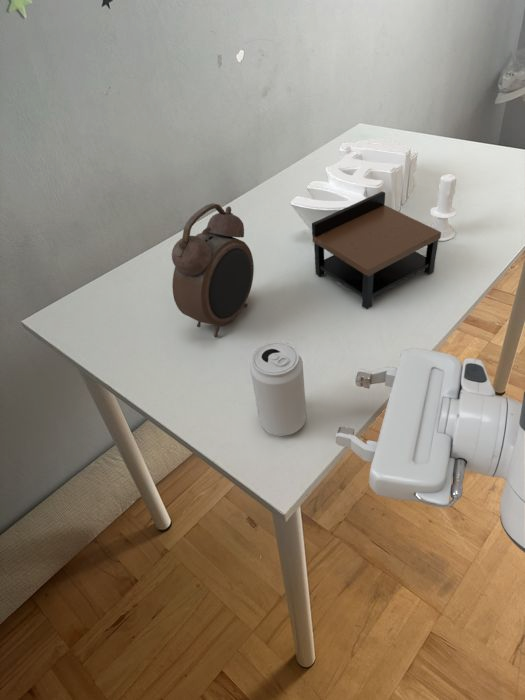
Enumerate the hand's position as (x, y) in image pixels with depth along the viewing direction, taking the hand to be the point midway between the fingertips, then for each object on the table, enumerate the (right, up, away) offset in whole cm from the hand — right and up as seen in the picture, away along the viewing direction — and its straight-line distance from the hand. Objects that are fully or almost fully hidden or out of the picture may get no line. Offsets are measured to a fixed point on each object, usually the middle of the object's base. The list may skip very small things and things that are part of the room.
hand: (347, 404), depth 61 cm
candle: (+24, +29, +37) cm, 52 cm away
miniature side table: (+10, +20, +30) cm, 37 cm away
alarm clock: (-17, +12, +25) cm, 32 cm away
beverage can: (-7, -3, +8) cm, 11 cm away
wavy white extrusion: (+11, +36, +47) cm, 60 cm away
